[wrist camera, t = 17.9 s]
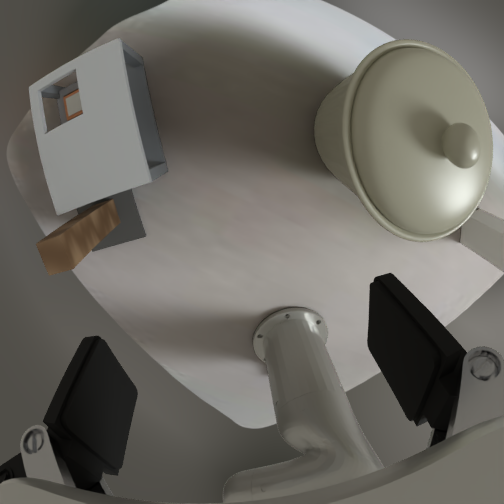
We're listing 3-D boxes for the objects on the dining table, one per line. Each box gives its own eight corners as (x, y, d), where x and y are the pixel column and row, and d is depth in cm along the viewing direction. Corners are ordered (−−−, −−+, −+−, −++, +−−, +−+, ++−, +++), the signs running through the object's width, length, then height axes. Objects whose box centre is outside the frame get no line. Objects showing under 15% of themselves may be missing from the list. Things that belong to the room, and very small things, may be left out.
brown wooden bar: (120, 222, 35) (73, 269, 22) (100, 228, 35) (49, 275, 22) (113, 198, 33) (59, 235, 20) (92, 205, 33) (35, 243, 20)
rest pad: (146, 235, 36) (145, 236, 36) (93, 250, 36) (92, 251, 36) (126, 172, 33) (125, 173, 32) (73, 192, 33) (71, 193, 32)
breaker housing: (168, 171, 33) (150, 182, 25) (89, 197, 33) (57, 215, 25) (142, 57, 27) (118, 37, 19) (65, 92, 27) (28, 87, 19)
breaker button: (102, 111, 28) (88, 109, 24) (82, 121, 28) (66, 120, 24) (98, 90, 27) (83, 86, 23) (78, 99, 27) (62, 97, 23)
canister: (263, 107, 31) (315, 69, 12) (372, 53, 28) (480, 15, 9) (333, 222, 38) (421, 306, 19) (425, 161, 35) (535, 197, 16)
